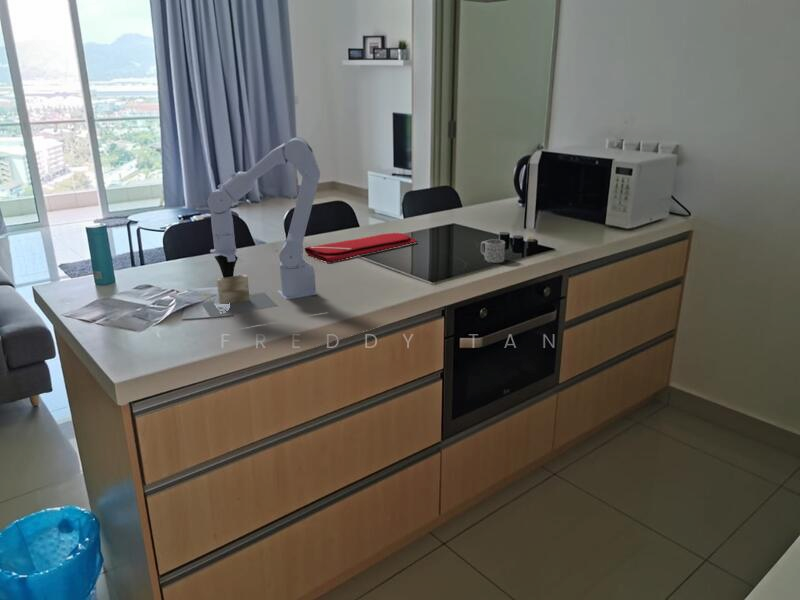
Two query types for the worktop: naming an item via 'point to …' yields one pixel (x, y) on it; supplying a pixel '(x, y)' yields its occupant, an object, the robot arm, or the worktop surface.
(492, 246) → the mug
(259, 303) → the rubber mat
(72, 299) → the worktop surface
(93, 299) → the worktop surface
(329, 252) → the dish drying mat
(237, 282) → the maple tile
